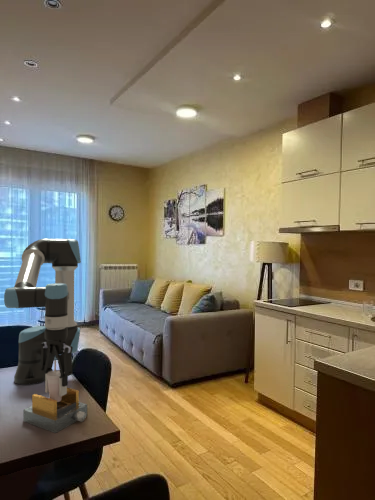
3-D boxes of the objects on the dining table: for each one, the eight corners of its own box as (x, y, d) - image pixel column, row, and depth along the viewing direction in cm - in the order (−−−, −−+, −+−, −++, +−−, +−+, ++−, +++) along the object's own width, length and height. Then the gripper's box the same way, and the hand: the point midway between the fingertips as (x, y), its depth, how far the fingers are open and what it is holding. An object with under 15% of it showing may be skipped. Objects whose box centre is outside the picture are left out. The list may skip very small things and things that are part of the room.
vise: (23, 421, 122) (23, 395, 122) (56, 405, 134) (56, 382, 134) (61, 435, 113) (62, 407, 113) (93, 417, 125) (93, 392, 125)
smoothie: (59, 395, 129) (59, 356, 129) (68, 399, 125) (69, 360, 125) (42, 400, 124) (42, 360, 124) (52, 406, 120) (52, 364, 120)
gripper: (29, 326, 126) (28, 391, 126) (67, 332, 116) (66, 402, 116) (46, 322, 132) (46, 384, 132) (84, 328, 123) (83, 394, 123)
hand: (55, 392), depth 124 cm, fingers closed on smoothie, 6 cm apart
